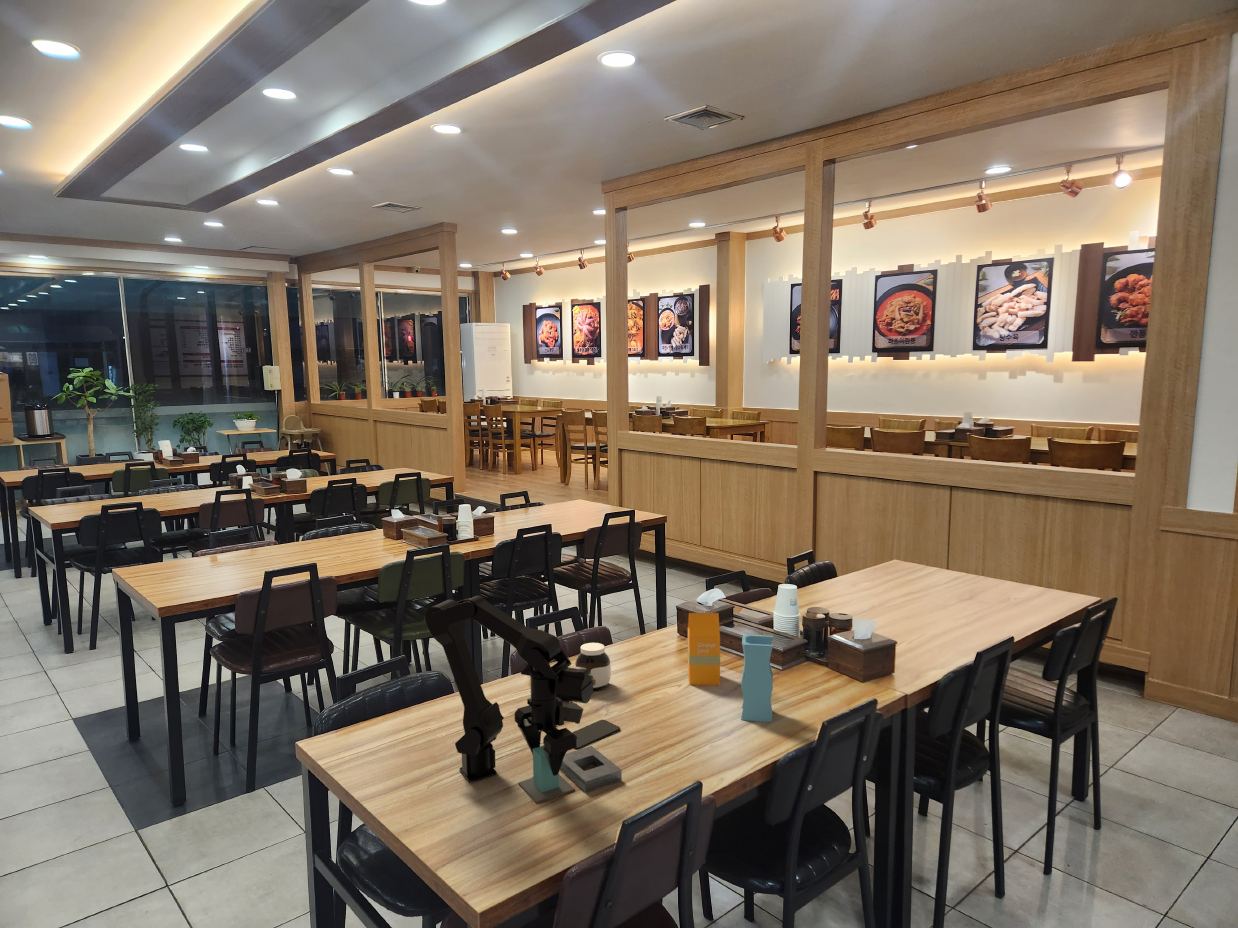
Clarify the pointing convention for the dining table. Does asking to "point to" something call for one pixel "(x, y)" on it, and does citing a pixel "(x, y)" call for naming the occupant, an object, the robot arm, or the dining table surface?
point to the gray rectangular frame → (593, 777)
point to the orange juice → (703, 649)
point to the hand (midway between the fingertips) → (545, 765)
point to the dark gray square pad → (543, 796)
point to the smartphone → (595, 732)
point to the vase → (757, 678)
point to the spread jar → (595, 664)
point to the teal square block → (543, 771)
